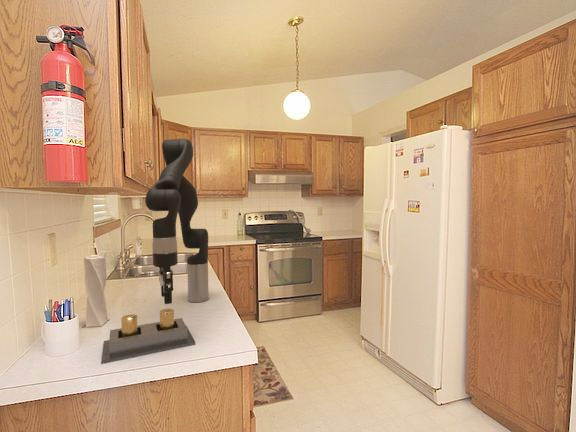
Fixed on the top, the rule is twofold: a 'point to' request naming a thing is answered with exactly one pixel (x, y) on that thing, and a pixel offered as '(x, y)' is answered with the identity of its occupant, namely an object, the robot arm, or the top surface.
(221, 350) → the top surface
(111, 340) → the jig
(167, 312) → the gold and grey cylinder
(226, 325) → the top surface
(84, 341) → the top surface
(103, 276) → the skyscraper
